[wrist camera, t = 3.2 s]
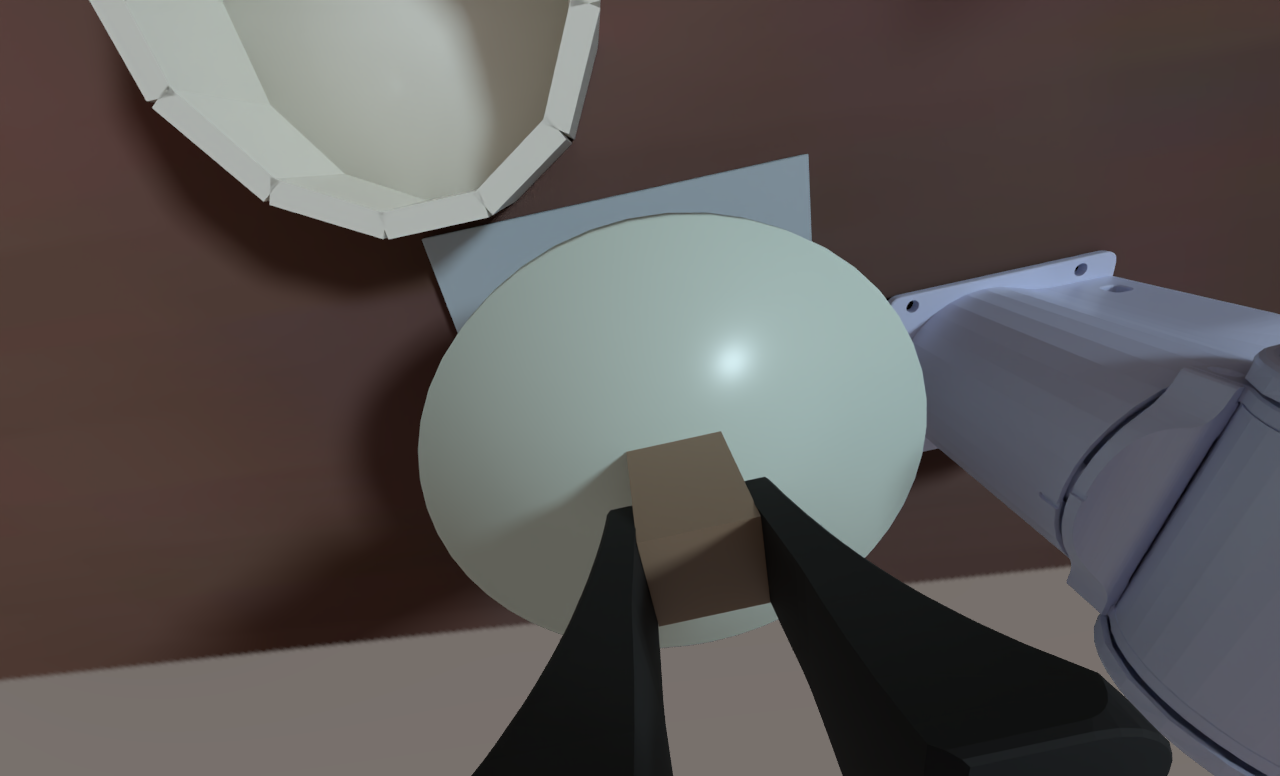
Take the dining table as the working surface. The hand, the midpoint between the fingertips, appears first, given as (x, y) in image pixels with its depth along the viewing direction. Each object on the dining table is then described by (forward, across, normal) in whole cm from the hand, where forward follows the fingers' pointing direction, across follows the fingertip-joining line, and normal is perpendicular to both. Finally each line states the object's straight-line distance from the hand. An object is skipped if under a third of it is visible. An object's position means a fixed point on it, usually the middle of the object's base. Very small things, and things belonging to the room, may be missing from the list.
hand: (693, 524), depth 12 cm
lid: (+3, 0, 0) cm, 3 cm away
